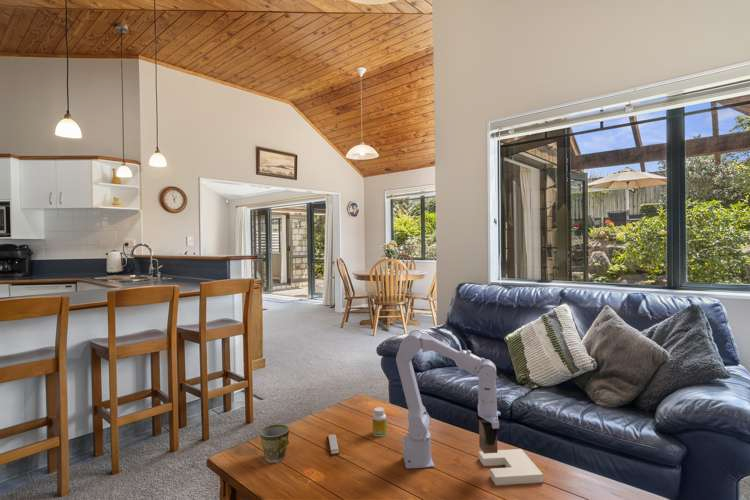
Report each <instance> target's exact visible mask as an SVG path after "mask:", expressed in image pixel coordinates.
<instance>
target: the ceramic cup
mask: <svg viewBox="0 0 750 500" xmlns="http://www.w3.org/2000/svg"><path fill="white" fill-rule="evenodd" d="M289 434H290V427H289V425H287V424H284V423H273V424H268V425H265V426H264V427H262V428H261V429H260V431H259V436H260V441H261V445H262V449H263V450H262V451H263V455H264V460H265V461H266V462H267V463H269V464H271V463H272V464H273V463H274V464H275V463H277V462H278V463H280V462H282V461H284V460H285V457H286V453H287V452H286V451H287V447H288V446H289V444H290V441H289Z"/></svg>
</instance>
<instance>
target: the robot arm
mask: <svg viewBox="0 0 750 500" xmlns="http://www.w3.org/2000/svg"><path fill="white" fill-rule="evenodd" d="M420 351H421V352H422V353H426V352H431V351H432V352H434V353H437V354H439V355H441V356H444V357H446V358H448V359H450V360H453V361H454V363H455V365H456V366H457V367H458V368H459V369H463V370H464V371H466V372H469V373H470V374H472V375H474V376H477V378H478V385H477V387H478V388H477V389H478V391H477V392H478V395H477V396H478V397H477V398H478V400H477V401H478V404H477V414H476V413H475V418H476V419H477V422H478V423H479V420H482V419H485V420H487V421H488V422H484V423H482V425H483V427H484V430H485V433H486V440H487V444H488V445H494V444H495V441H496V436H497V437H498V433H499V431H500V429H501V428H502V424H501V423H500V421H499V417H498V416H501V415H502V414H501V411H500V410H498V397H497V395H498V394H497V392H498V391H497V377H498V376H497V367H496V364H495V363H494V362H493V361H492V360H490V359H486V358H484V357H480V356H478V355H475V354H474V353H472V350H470V349H467V350H465V349H462V350H457V349H456V348H453V347H451V346H450V345H448V344H446V343H444V342H442V341H440V339H437V338H436V337H433V336H432V335H430V334H429V333H426V332H423V331H422V330H419V329H413V330H412V331H410V332H409V333H408V334H407V336H405V337H404V338H403V339H402V341H401V342H400V343H399V347H398V351H397V352H396V353H397V354H396V356H395V361H396V366H397V369H398V374H399V378H400V382H401V385H402V390H403V394H404V397H405V403H406V405H407V409H408V414H407V416H408V417H407V419H408V429H407V430H408V431H407V432H408V434H407V435H404V436H402V449H403V450H402V459H403V462H404V466H405V468H406V469H421V468H422V469H423V468H434V467H435V463H434V461H433V459H432V442H431V441H432V440H431V439H432V435H431V432H430V430H429V428H430V426H431V423H432V418H431V416H430V415H429V413H428V412H427V410H426V409H427V408H426V407H425V406H424V404H423V402H422V401H423V400H422V397H421V394H420V389H419V387H418V381H417V378H416V377H417V376H416V373H415V370H414V366H413V362H412V360H413V358H414V356H415V355H417V354H418V353H419V352H420Z"/></svg>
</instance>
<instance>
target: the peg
mask: <svg viewBox="0 0 750 500" xmlns="http://www.w3.org/2000/svg"><path fill="white" fill-rule="evenodd" d="M484 422H488V421H487V420H485V419H482V420H479V422H478V436H479V437H478V438H479V445H478V446H479V449H480V451H483V453H484V454H486V453H497V450H498V435H497V436H496V441H495V444H494V445H488V444H487V440H486V433H485V430H484V427H483V425H482V423H484Z"/></svg>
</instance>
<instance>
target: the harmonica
mask: <svg viewBox="0 0 750 500" xmlns="http://www.w3.org/2000/svg"><path fill="white" fill-rule="evenodd" d="M328 439H329V440H328ZM337 440H338V439H337V435H336V434H328V435H327V442H328V441H329V442H328V448H329V449H330V450H329V454H330V455H331V456H330V457H335V456H334V455H337V456H339V455H340V451H339V450H340V449H339V445H338V441H337Z"/></svg>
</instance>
